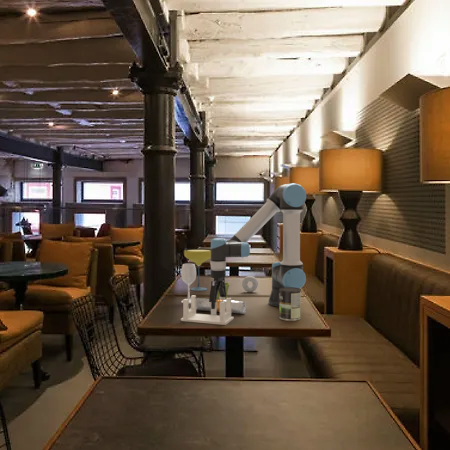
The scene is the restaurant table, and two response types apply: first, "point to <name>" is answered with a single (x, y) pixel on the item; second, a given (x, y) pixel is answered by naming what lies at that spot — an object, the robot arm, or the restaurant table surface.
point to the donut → (247, 279)
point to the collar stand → (191, 314)
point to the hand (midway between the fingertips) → (218, 312)
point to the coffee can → (289, 303)
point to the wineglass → (188, 276)
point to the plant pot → (226, 290)
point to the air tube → (206, 305)
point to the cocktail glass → (198, 261)
